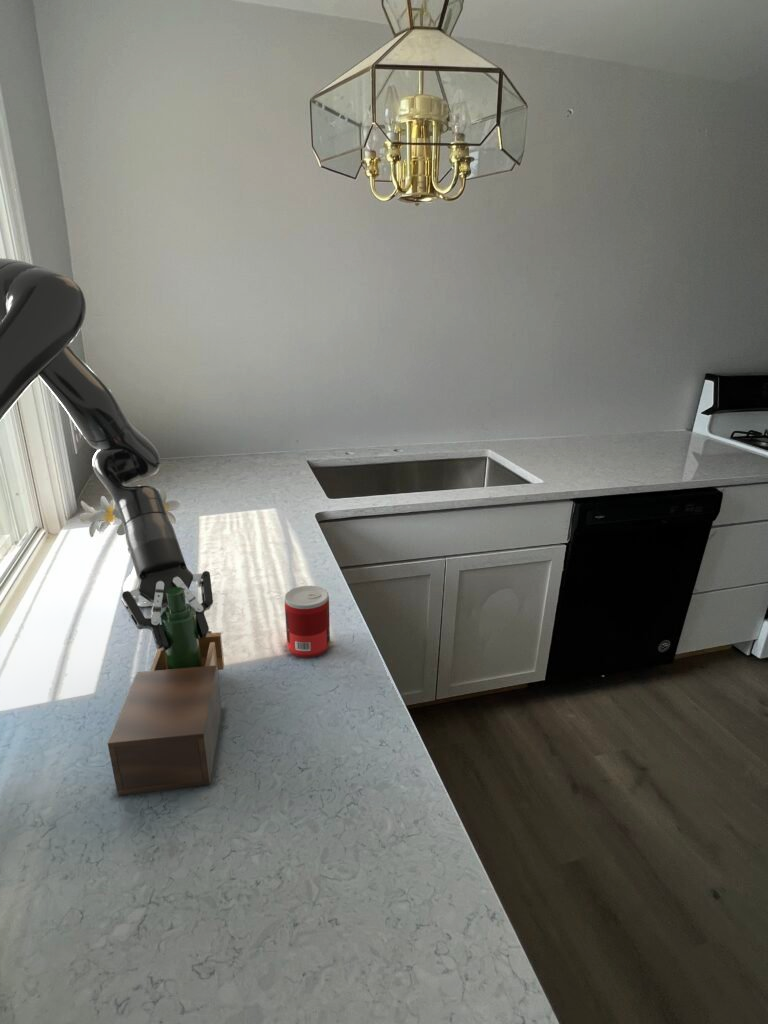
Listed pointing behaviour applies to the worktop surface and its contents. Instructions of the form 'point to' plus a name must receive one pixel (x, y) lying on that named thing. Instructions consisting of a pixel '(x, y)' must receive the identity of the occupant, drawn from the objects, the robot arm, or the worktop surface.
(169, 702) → the cabinet
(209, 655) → the drawer
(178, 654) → the bottle
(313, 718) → the worktop surface
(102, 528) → the flower vase
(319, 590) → the canned food
